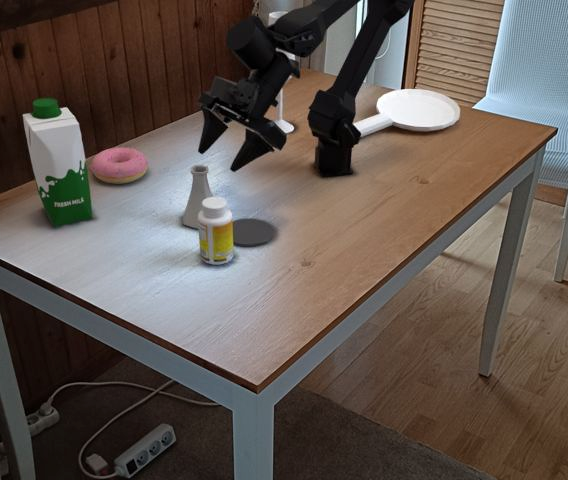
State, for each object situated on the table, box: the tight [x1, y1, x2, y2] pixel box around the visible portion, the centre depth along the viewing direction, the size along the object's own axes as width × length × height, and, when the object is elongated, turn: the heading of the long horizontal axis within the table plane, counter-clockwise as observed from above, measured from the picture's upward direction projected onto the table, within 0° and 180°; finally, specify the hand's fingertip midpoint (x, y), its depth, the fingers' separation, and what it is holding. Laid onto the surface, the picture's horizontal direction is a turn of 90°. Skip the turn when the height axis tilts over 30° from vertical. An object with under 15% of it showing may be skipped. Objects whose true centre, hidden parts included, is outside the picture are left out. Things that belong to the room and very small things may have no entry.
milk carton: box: [22, 97, 94, 228], centre depth 129 cm, size 9×9×20 cm
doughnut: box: [90, 146, 149, 185], centre depth 146 cm, size 11×11×4 cm
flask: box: [182, 164, 214, 230], centre depth 131 cm, size 7×7×10 cm
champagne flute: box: [267, 11, 296, 134], centre depth 160 cm, size 7×7×24 cm
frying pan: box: [353, 88, 461, 139], centre depth 167 cm, size 35×19×5 cm, turn 128°
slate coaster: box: [232, 218, 275, 248], centre depth 131 cm, size 9×9×1 cm
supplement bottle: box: [198, 196, 234, 266], centre depth 121 cm, size 6×6×10 cm
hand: (215, 161), depth 129 cm, fingers open, 9 cm apart
